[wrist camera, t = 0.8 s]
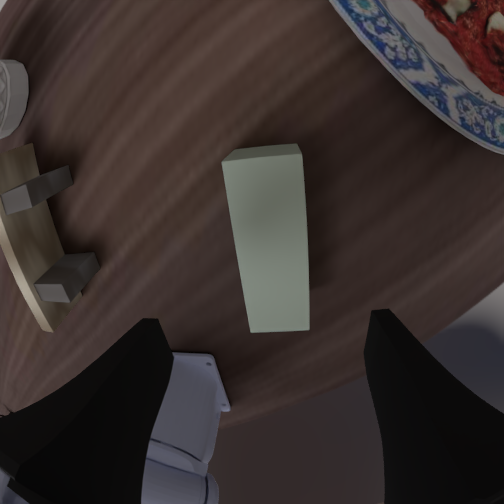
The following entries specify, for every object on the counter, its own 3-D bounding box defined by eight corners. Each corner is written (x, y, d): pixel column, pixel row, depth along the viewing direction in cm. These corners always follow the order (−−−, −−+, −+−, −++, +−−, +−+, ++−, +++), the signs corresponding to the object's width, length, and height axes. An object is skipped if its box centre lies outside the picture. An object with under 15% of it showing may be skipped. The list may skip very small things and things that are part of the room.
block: (296, 142, 15) (302, 153, 12) (305, 290, 20) (309, 329, 16) (235, 149, 16) (221, 161, 12) (255, 293, 20) (250, 332, 17)
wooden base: (111, 296, 22) (83, 337, 17) (71, 295, 22) (42, 330, 18) (61, 129, 15) (10, 143, 11) (22, 147, 16) (-23, 165, 11)
